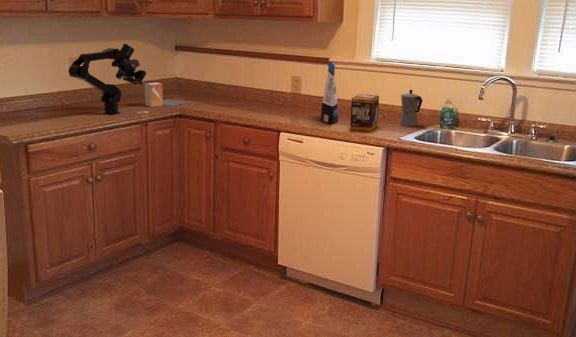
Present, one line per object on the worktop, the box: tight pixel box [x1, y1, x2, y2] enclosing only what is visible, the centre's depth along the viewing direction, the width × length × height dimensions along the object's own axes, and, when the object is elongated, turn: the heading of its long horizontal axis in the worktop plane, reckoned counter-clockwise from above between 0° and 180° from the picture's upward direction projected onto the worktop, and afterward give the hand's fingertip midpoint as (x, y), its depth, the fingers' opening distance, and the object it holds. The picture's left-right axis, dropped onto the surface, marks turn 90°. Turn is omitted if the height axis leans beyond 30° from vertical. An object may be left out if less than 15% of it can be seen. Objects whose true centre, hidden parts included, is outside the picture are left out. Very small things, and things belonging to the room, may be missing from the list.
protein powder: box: [320, 60, 339, 125], centre depth 311 cm, size 10×24×30 cm, turn 3°
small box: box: [144, 82, 164, 108], centre depth 347 cm, size 8×6×13 cm
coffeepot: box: [398, 89, 423, 127], centre depth 304 cm, size 15×9×18 cm, turn 28°
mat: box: [163, 98, 190, 107], centre depth 360 cm, size 16×18×1 cm
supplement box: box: [349, 93, 380, 132], centre depth 296 cm, size 10×15×16 cm
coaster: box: [134, 110, 148, 115], centre depth 326 cm, size 7×7×1 cm
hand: (139, 84), depth 336 cm, fingers open, 4 cm apart
